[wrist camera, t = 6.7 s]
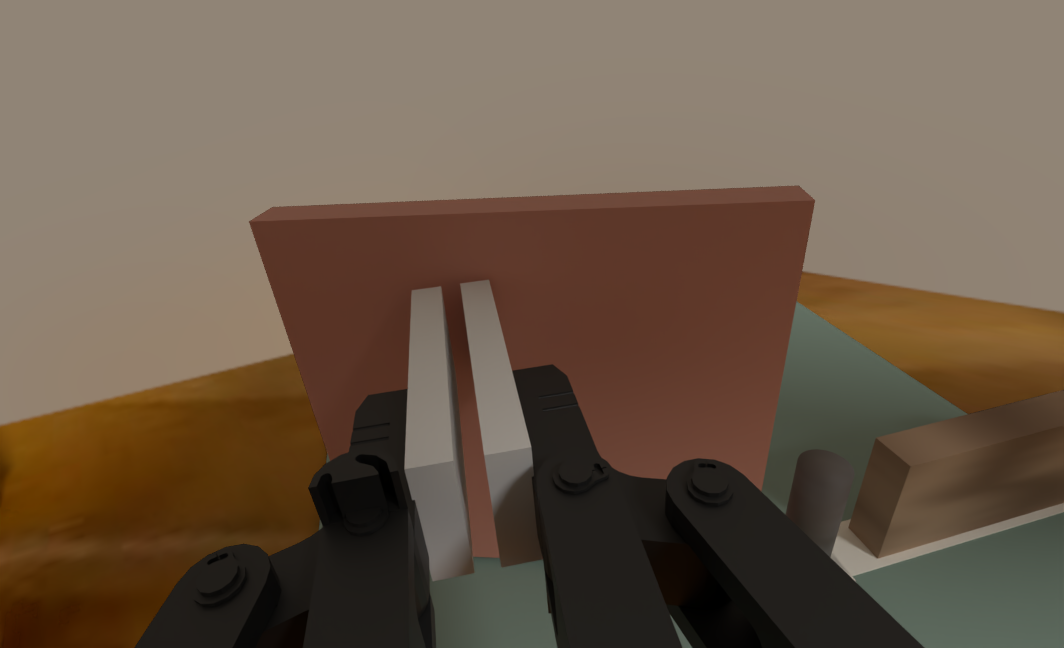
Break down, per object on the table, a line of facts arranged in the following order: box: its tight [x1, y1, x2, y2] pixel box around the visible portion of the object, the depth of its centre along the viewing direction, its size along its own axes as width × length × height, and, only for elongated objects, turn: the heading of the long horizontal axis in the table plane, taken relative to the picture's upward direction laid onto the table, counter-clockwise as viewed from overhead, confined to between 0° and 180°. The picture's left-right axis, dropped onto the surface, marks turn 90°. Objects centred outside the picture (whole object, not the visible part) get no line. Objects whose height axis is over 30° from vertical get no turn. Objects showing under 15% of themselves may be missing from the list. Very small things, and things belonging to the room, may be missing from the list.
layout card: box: [319, 301, 1064, 648], centre depth 24 cm, size 29×24×1 cm
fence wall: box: [785, 390, 1064, 559], centre depth 19 cm, size 14×2×6 cm, turn 104°
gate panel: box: [249, 186, 815, 560], centre depth 17 cm, size 14×1×13 cm, turn 84°
